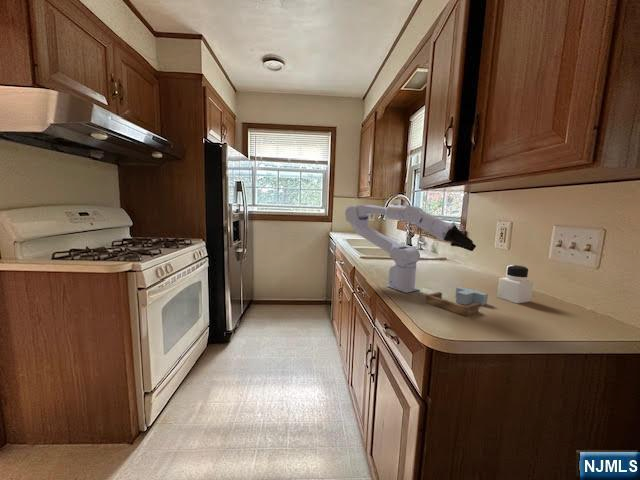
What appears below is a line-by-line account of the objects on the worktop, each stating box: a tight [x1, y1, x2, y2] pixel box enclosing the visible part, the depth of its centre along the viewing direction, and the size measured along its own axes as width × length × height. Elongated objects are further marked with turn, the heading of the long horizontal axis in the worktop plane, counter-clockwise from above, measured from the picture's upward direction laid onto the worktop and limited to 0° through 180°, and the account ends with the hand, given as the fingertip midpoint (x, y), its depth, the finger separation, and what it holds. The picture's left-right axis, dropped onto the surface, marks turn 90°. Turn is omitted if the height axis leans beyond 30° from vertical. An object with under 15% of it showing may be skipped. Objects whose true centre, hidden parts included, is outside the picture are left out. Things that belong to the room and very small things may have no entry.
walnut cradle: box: [425, 291, 480, 317], centre depth 86 cm, size 13×7×2 cm, turn 34°
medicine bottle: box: [496, 264, 534, 304], centre depth 95 cm, size 7×7×12 cm
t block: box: [455, 286, 489, 306], centre depth 91 cm, size 9×8×4 cm
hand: (472, 246), depth 86 cm, fingers open, 7 cm apart
